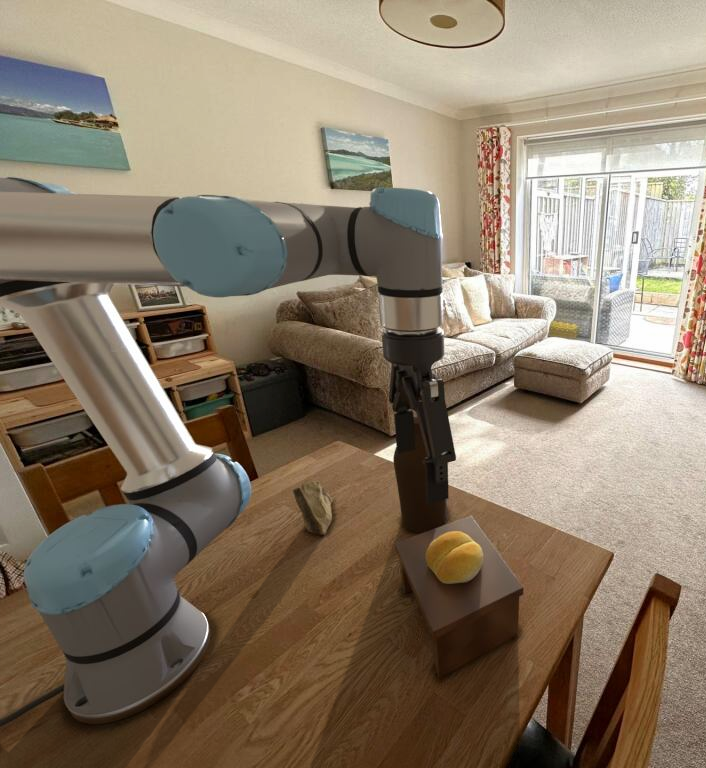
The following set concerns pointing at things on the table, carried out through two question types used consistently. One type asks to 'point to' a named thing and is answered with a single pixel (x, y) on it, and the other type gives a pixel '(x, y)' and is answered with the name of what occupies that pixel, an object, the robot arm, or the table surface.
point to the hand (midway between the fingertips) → (420, 473)
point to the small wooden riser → (462, 598)
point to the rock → (314, 506)
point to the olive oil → (416, 488)
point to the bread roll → (454, 557)
